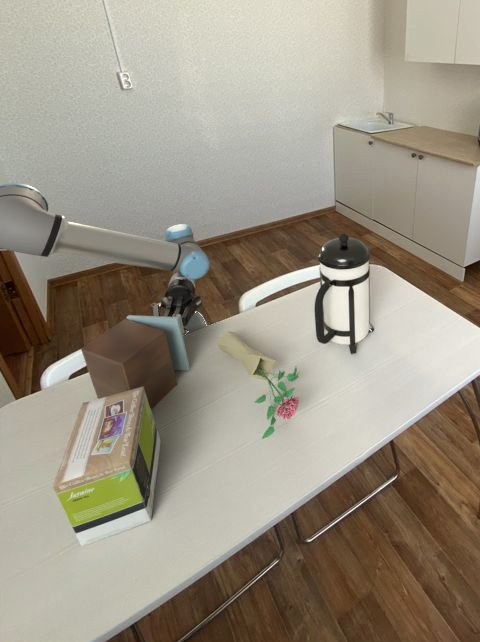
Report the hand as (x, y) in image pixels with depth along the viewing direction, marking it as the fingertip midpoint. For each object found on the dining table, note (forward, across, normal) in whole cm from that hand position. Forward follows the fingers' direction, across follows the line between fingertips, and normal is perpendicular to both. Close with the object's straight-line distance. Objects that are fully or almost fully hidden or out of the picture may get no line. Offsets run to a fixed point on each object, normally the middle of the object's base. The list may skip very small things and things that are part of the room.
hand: (163, 344), depth 90 cm
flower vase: (+13, -21, -7) cm, 26 cm away
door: (0, +1, -6) cm, 6 cm away
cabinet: (+7, +5, -7) cm, 11 cm away
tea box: (+29, +2, -7) cm, 29 cm away
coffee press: (+2, -43, -7) cm, 44 cm away
